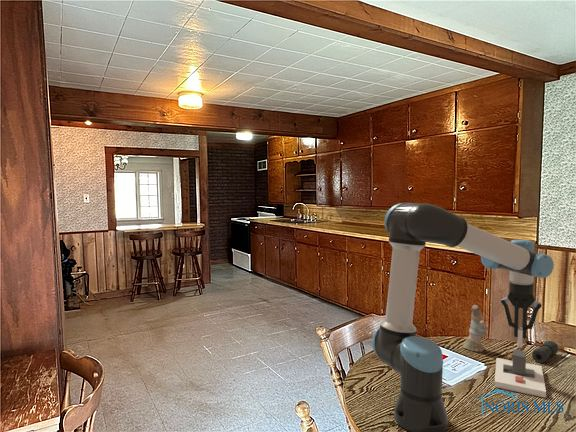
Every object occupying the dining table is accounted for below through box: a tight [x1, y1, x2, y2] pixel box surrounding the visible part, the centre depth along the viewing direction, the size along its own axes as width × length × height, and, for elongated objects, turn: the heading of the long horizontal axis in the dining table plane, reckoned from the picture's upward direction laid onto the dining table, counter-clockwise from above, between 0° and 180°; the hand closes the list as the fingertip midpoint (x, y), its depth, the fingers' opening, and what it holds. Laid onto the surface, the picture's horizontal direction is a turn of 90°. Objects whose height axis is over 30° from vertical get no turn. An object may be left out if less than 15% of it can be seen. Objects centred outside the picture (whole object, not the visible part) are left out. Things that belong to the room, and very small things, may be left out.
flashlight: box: [531, 339, 560, 364], centre depth 158 cm, size 15×5×5 cm, turn 130°
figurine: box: [462, 304, 489, 353], centre depth 167 cm, size 9×8×20 cm
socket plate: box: [493, 357, 547, 398], centre depth 141 cm, size 22×15×3 cm
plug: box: [512, 349, 527, 376], centre depth 143 cm, size 8×4×8 cm, turn 149°
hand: (519, 345), depth 142 cm, fingers closed
